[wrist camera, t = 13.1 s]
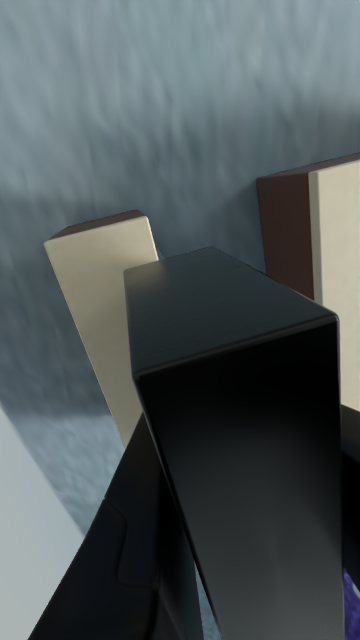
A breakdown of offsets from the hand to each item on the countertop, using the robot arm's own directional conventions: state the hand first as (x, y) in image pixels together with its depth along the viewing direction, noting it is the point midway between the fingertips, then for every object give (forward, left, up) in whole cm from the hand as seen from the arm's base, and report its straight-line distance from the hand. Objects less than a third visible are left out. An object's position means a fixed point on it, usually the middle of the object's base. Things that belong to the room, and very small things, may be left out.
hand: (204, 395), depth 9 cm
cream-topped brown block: (+2, 0, -7) cm, 7 cm away
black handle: (0, 0, -6) cm, 6 cm away
